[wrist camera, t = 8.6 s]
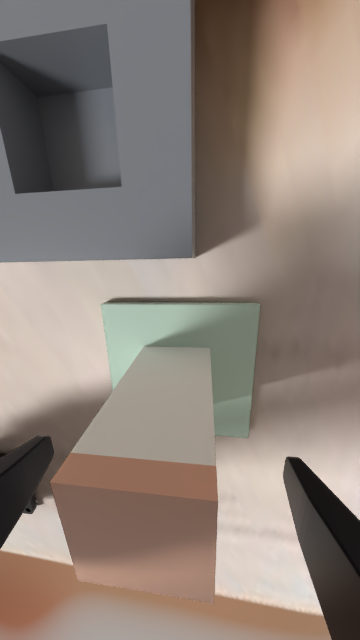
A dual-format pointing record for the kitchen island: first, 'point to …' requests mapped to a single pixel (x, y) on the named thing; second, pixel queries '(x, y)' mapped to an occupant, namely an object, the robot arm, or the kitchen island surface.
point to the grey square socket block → (97, 130)
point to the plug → (147, 481)
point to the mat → (193, 331)
